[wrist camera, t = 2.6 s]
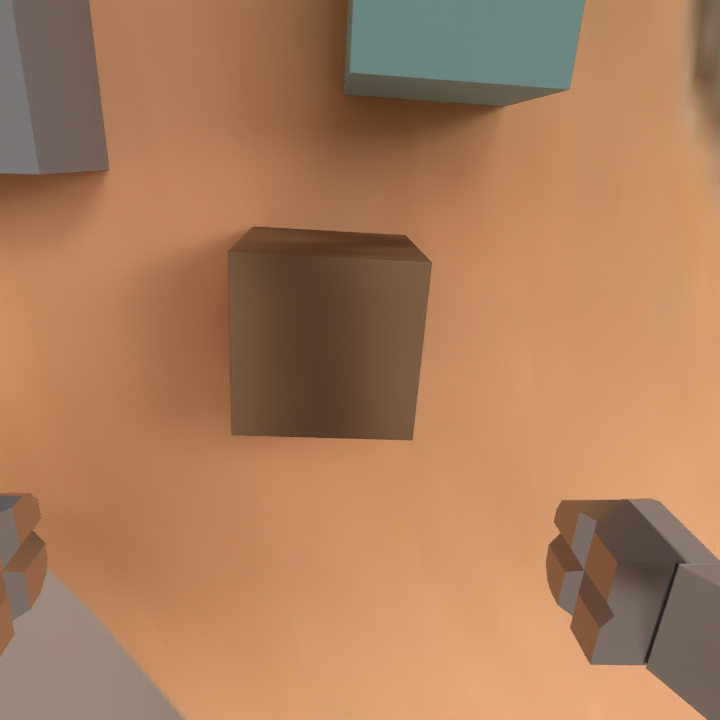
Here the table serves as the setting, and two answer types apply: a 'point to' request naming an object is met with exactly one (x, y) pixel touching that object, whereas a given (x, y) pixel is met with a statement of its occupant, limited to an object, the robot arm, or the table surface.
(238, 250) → the walnut cube
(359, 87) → the teal cube
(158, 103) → the table surface
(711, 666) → the robot arm
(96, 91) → the grey base block
